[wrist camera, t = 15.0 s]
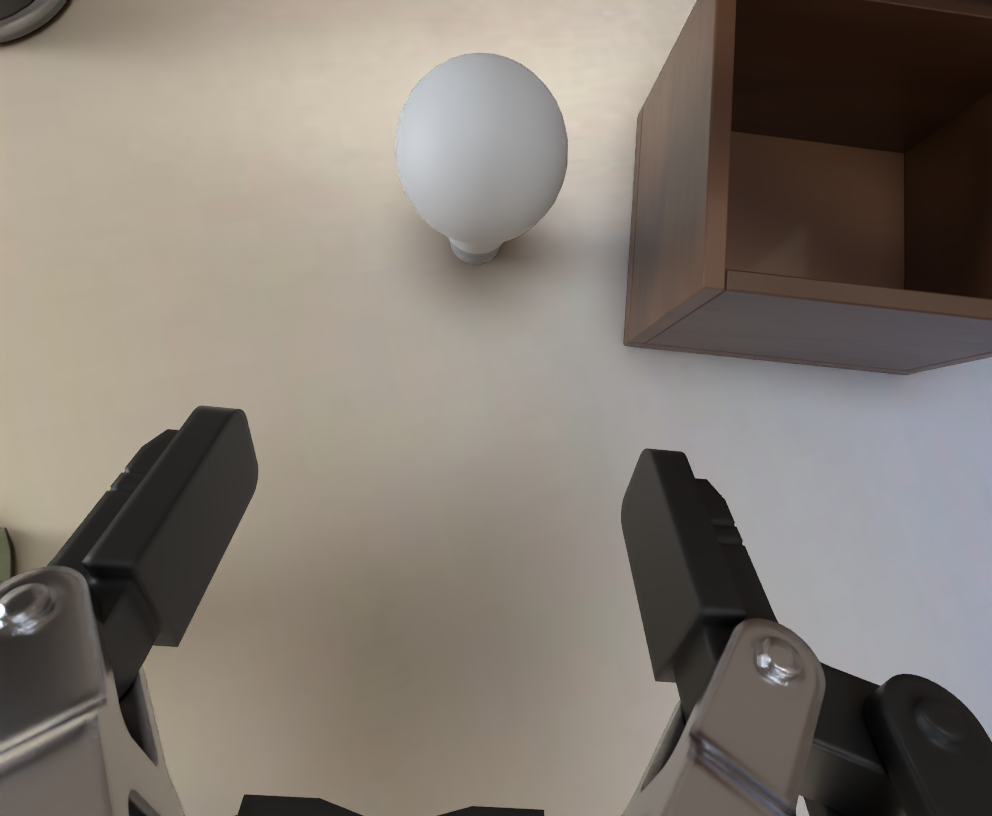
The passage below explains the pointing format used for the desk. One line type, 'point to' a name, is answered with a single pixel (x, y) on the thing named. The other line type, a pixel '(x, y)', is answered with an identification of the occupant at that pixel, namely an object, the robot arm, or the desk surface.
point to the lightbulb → (481, 152)
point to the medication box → (5, 556)
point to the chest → (818, 186)
